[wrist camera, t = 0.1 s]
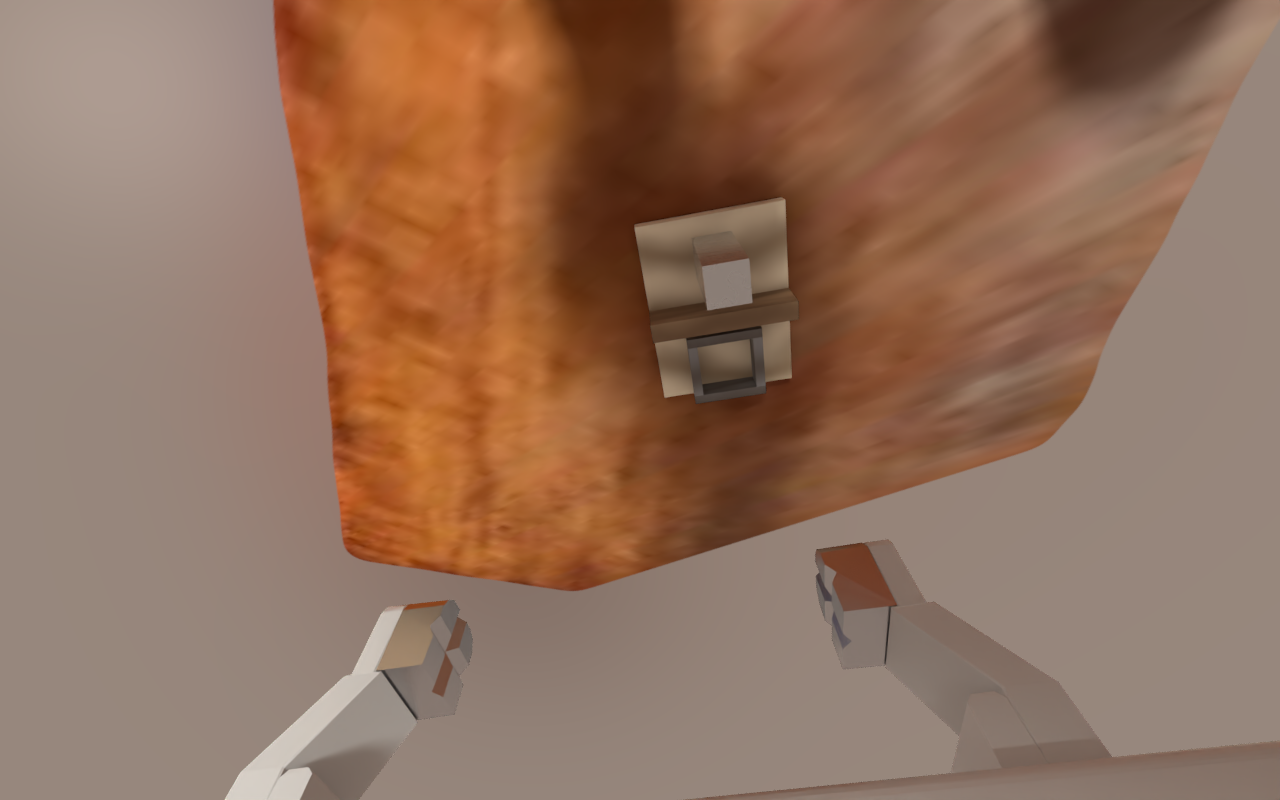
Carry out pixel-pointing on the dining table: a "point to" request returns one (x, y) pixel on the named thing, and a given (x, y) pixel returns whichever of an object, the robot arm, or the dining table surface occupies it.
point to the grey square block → (722, 270)
